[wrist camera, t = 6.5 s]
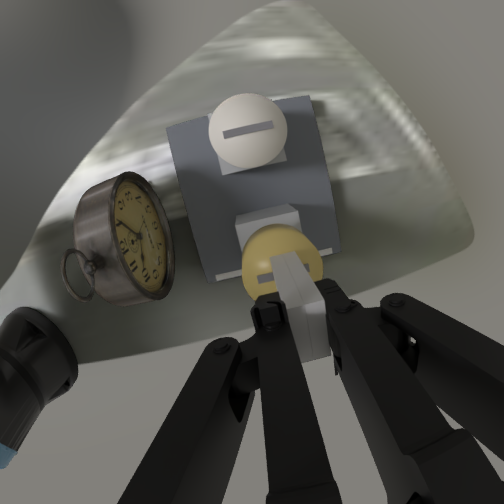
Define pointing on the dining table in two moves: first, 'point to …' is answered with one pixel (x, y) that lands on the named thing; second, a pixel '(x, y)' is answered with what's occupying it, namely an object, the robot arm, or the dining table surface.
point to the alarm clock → (122, 242)
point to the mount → (254, 190)
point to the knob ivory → (247, 130)
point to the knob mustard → (271, 244)
